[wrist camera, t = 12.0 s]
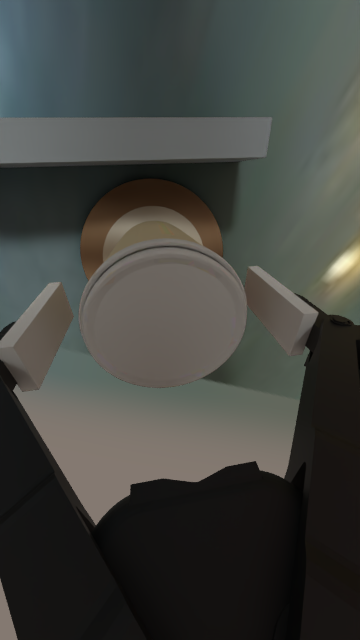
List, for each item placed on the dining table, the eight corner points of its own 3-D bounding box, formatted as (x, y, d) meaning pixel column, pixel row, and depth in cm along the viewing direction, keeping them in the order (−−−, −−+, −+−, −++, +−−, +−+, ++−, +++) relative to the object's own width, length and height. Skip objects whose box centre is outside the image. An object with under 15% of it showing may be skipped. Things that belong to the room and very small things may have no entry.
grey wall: (-57, 134, 15) (-131, 117, 11) (241, 131, 18) (272, 117, 13) (-40, 168, 16) (-102, 165, 12) (238, 161, 19) (266, 157, 15)
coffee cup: (168, 316, 25) (186, 406, 15) (90, 275, 21) (45, 361, 11) (220, 248, 22) (286, 307, 12) (138, 184, 18) (135, 193, 8)
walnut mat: (61, 181, 18) (57, 181, 17) (226, 175, 19) (230, 175, 18) (100, 322, 25) (99, 327, 25) (216, 310, 27) (218, 314, 26)
